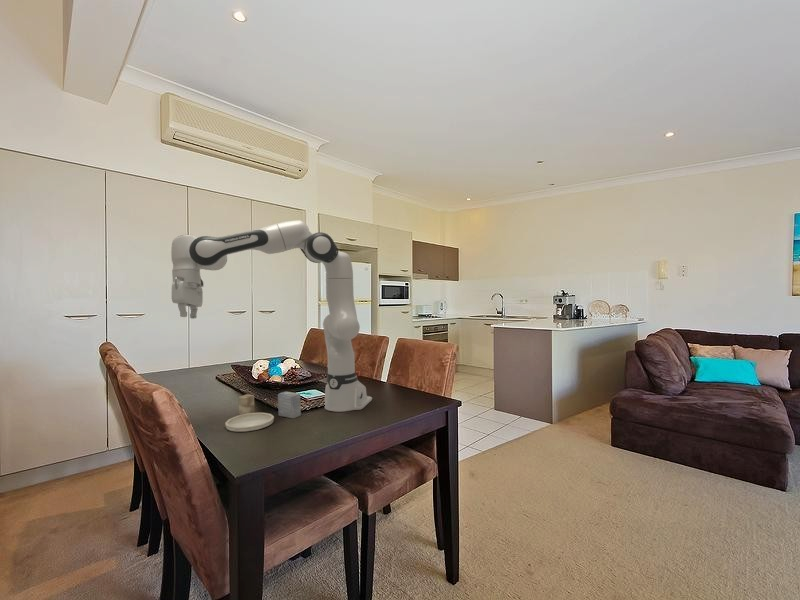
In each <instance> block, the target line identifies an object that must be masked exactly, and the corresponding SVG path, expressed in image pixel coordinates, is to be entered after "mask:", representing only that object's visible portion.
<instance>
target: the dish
mask: <svg viewBox="0 0 800 600" xmlns="http://www.w3.org/2000/svg"><path fill="white" fill-rule="evenodd" d="M274 420H275V415H273V414H272V413H268V412H254V413H248V414H243V415H239V414H238V415H235V416H234V417H231V418H228V419H227V420H226V421H225V422H224V424H225V428H226V430H228V431H230V432H236V433H237V432H239V433H241V432H242V433H243V432H252V431H256V430H257V431H258V430H261V429H264V428H266V427H267V428H268V426H270V425H272V424H273V423H274Z"/></svg>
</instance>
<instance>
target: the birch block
mask: <svg viewBox="0 0 800 600" xmlns="http://www.w3.org/2000/svg"><path fill="white" fill-rule="evenodd" d="M248 413H255V394H248V393H247V394H244V395H240V396H238V415H243V414H248Z"/></svg>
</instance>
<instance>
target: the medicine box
mask: <svg viewBox="0 0 800 600" xmlns="http://www.w3.org/2000/svg"><path fill="white" fill-rule="evenodd" d="M301 408H302V407H301V393H300V392H299V393H297V392H290V391H282V392H280V393H278V394H277V409H278V411H277V413H278V416H280V417H285V418H289V419H296V418H298V417H300V416H301V415H302V410H301Z"/></svg>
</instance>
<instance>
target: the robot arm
mask: <svg viewBox="0 0 800 600" xmlns="http://www.w3.org/2000/svg"><path fill="white" fill-rule="evenodd" d="M294 249H300V251H301V252H302V253H303V255H304V256H305V257H306V259H307V260H308V261H310V262H311V263H314V264H319V263H322V264H323V265H324V268H325V292H326V293H325V295H326V301H327V306H328V310H329V311H328V312H329V314H327V315H326V316H325V317H324V319H323V322H322V326H323V334H324V342H325V347H326V354H327V356H326V357H327V373H326V382H327V384H326V385H325V390H324V401H325V403H324V404H325V406H324V409H325V410H327V411H331V412H339V413H340V412H350V411H356V410H357V411H359V410H362V409H364V408H365V407H366V406H367V405H368V404H369V403H370V402H371V401H372V400H373V397H372V396H370V395H367V388H366V385H364V384H363V383H361V382H360V380H358V377H360V376H361V371H359V370H356V368H355V364H356V361H355V359H356V358H355V351H354V347H353V343H352V340H353V339H355V338H356V337H357V335H358V334H359V332H360V323H359V321H358V317H357V309H356V305H355V298H354V297H355V296H354V271H353V269H354V268H353V263H352V259H351V255H349V254H348V253H346V252H345V251H339V248H338V247H337V245H336V243H335V242H334V239H333V238H332V236H330V235H329V234H328V233H325V232H320V231H319V232H314V233H312V232H311V231H310V229H309V226H308V225H307V224H306V223H305V222H304V221H303V220H300V219H296V220H295V219H294V220H286V221H281V222H277V223H274V224H269V225H265V226H264V227H260V228H257V229H253V230H248V231H244V232H243V231H242V232H239V233H234V234H231V235H230V234H228V235H226V236H219V237H218V236H210V235H209V236H208V235H204V236H199V237H197V236H195V235H194V234H183V235H179V236H176V237H175V238H173V240H172V242H171V251H170V252H171V253H170V254H171V255H170V256H171V258H170V259H171V262H172V269H171V275H172V277H171V278H172V283H171V302H172V303H173V304H177V307H178V311H179V315H180V318H187V317H188V311H187V307H189V309H190V313H189V318H190V319H191V320H193V319H194V320H195V319H197V317H198V315H197V314H198V308H200V307H201V308H202V305H203V301H204V300H203V298H204V297H203V288H204V286H205V285H204V284H205V283H204V281H203V280H202V276H201V270H206V271H218V270H221V269H223V268H224V267H226V264H227V262H228V255H232V254H236V253H239V252H244V251H249V250H251V251H252V250H253V251H254V250H255V251H260V252H262V253H265V254H268V255H273V254H280V253H284V252H287V251H291V250H294Z"/></svg>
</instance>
